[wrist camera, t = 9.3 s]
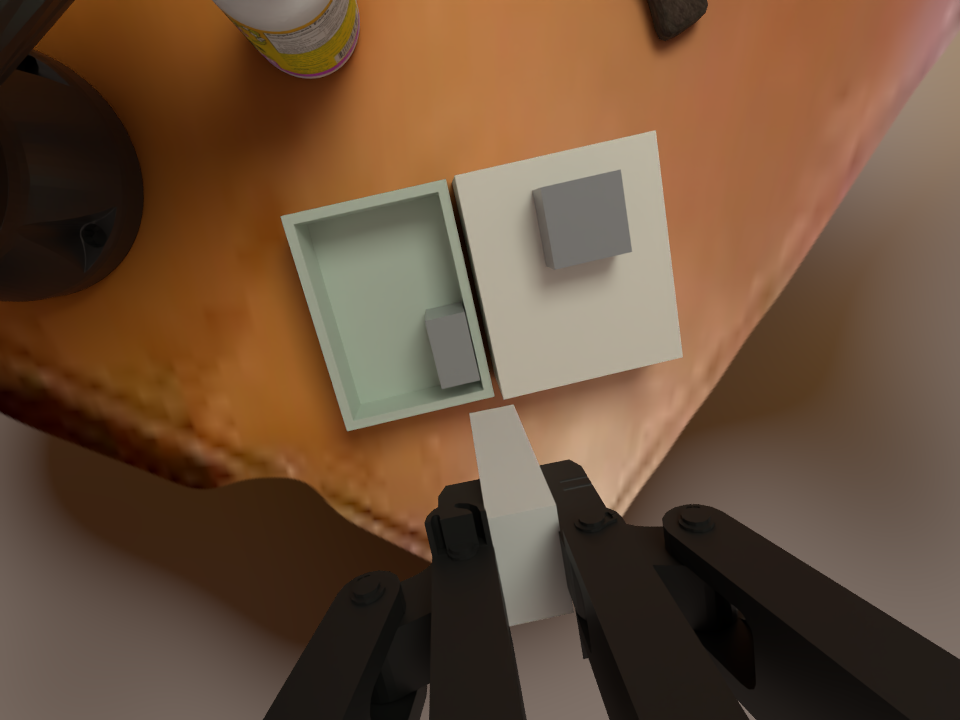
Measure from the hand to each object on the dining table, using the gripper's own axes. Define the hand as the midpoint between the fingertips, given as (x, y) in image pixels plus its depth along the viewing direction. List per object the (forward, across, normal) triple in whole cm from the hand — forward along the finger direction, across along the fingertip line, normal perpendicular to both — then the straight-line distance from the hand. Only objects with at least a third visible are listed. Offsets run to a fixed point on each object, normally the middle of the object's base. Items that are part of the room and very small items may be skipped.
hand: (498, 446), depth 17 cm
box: (+21, -4, +3) cm, 21 cm away
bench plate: (+21, +7, +3) cm, 22 cm away
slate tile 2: (+16, +8, +6) cm, 19 cm away
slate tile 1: (+18, 0, 0) cm, 18 cm away
